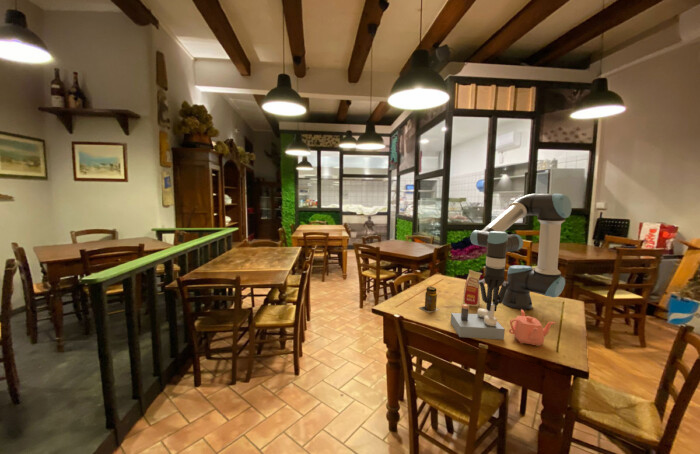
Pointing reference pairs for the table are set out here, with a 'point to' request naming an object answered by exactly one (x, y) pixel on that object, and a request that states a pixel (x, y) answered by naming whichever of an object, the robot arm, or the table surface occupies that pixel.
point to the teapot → (529, 329)
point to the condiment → (430, 300)
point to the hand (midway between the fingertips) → (490, 317)
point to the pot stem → (464, 312)
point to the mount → (476, 327)
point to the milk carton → (472, 289)
